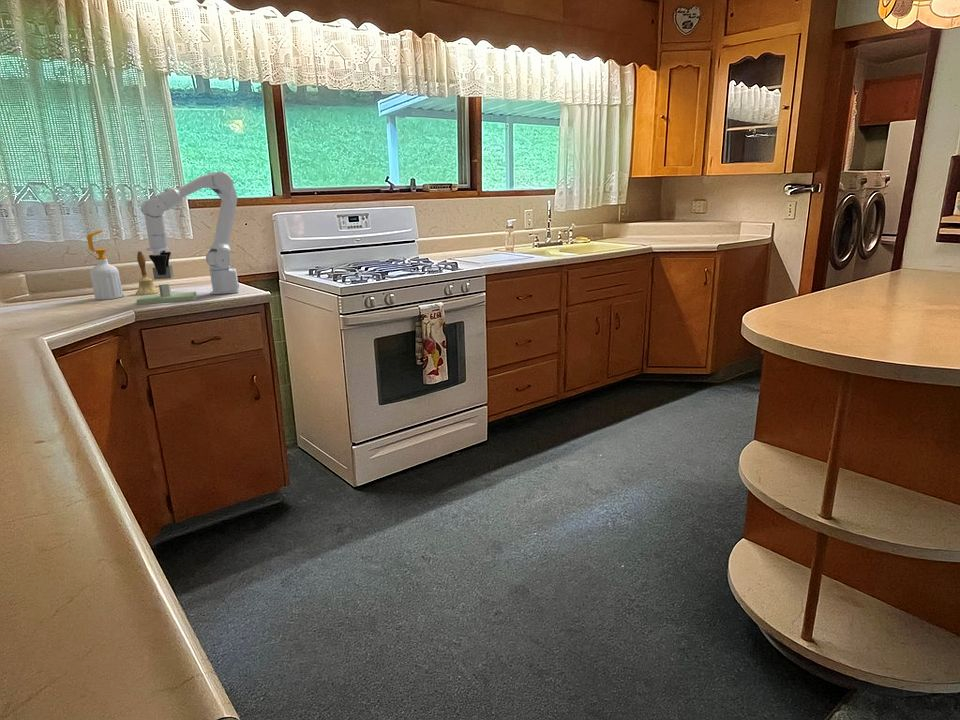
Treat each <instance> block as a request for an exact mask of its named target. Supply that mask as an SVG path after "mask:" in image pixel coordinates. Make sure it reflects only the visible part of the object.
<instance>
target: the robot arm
mask: <svg viewBox="0 0 960 720" xmlns="http://www.w3.org/2000/svg"><path fill="white" fill-rule="evenodd" d="M234 183H235V182H234V180H233V178H232V177H231V176H230V175H229V174H228V173H227V172H225V171H217V172H215V171H211V172H208V173H207V174H203V175H200V176H199V177H196V178H194V179H193V180H191V181H189V182H188V183H185V184H184V185H182V186H180V187H179V188H178V189H176V188H172V187H171V188H169V187H167V188H164V189H163V192H161V193H159V194H157V195H152V196H151V199H146V200H144V201H143V202H142V203H141V205H140V207H141V208H140V211H141V213H142V215H144V221H145V228H146V234H147V240H148V245H149V247H146V248H145V250H146V251H150V252H152V254H149V255H148V257H149V259H150V260H151V262H152V263H153V265H154V267H156V270H157V272H158V275H165V274H166V266H168V265H170V258H171V255H172V252H171V251H169V250H170V247H169V244H168V239H167V234H166V232H167V231H166V226H165V221H164V217H163V214H164V213H165V212H167V211H169V210H171V209H173V208H174V207H177V206H178V205H180V204H182V203H183V199H184V198H185V197H187V196H189V195H191V194H193V193H195V192H197V191H200V190H201V189H210V190H212V191H213V192H214V193H215V194H216V195H217V196H218V198H219V199H220V200H221V202H220V206H219V212H218V218H217V223H216V229H215V234H214V240H213V242H212V243H211V245H210V247H209V250H208V252H207V253H206V255H205V261H206V263H207V265H209V275H210V281H211V288H212V291H211V293H210V294H211V295H220V294H221V295H222V294H235V293H239V290H240V284H239V279H238V274H237V273H238V272H237V269H236V268H234V267H233V268H231V264H232V258H231V247H230V242H231V241H230V240H231V235H232V230H233V224H234V219H235V214H236V209H237V203H238V195H237V192H236V189H235V185H234ZM167 250H168V251H167Z"/></svg>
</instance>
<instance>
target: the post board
mask: <svg viewBox="0 0 960 720" xmlns="http://www.w3.org/2000/svg"><path fill="white" fill-rule="evenodd" d="M158 290H159V291H160V292H159V293H156V294H150V295H140V296H139V297H138V298H137V299H136V304H137V305H146V304H147V305H148V304H161V303H163V304H164V303H173V302H186V301H187V300H189V301H194V300H195V299H196V298H197V296H198V295H197V291H187V292H172V290H171V284H170V283H164V284H159V285H158ZM187 302H188V301H187Z"/></svg>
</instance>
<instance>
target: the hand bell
mask: <svg viewBox="0 0 960 720" xmlns="http://www.w3.org/2000/svg"><path fill="white" fill-rule="evenodd" d="M136 258H137V259H136V261H137V264H138V266H139V268H140V271H141V278H140V279H138V289H137V291H136V292H135V295H136V296H142V295H155V294H160V289H159V288H156V286H155V284H154V283H153V279H152V278H151V277H150V278H149V276H148V274H147V270H146V257H145V256H144V254H143V252H142V251H137V256H136Z"/></svg>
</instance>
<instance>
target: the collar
mask: <svg viewBox="0 0 960 720" xmlns="http://www.w3.org/2000/svg"><path fill="white" fill-rule="evenodd" d="M173 269H174V268H173V266H172V264H169V265H168V266H166V274H165V275H158V272H157V270H156V267H155V266H154V267H152V273H153V279H154V280H165V279H167V280H168V279H172V278H173V277H174V276H175V275H174V271H173Z"/></svg>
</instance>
